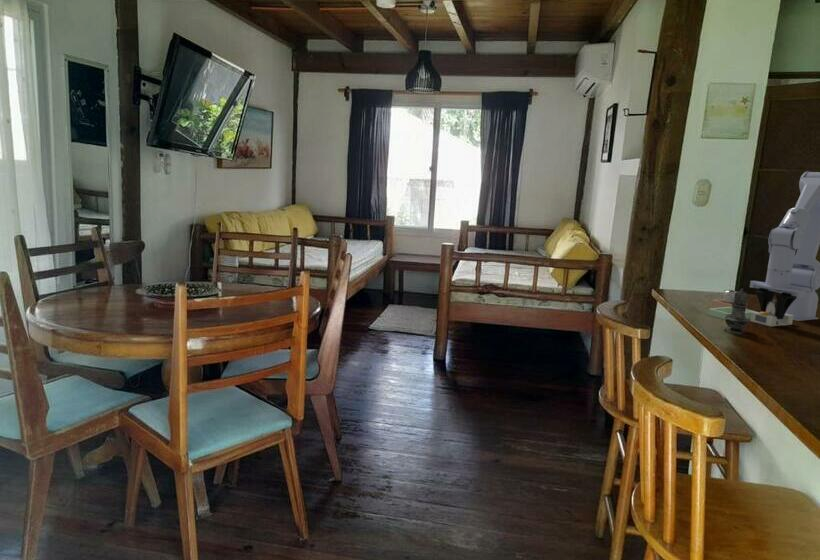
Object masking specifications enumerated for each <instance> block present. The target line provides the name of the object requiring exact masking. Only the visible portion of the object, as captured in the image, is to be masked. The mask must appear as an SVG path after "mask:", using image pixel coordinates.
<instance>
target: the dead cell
mask: <svg viewBox="0 0 820 560" xmlns="http://www.w3.org/2000/svg"><path fill="white" fill-rule="evenodd" d="M736 292H737V291H736V290H733V289H728V290H727V289H726V290H725V289H724V290H723V302H724V303H728V304H733V303H734V297H735V293H736Z"/></svg>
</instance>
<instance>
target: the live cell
mask: <svg viewBox="0 0 820 560" xmlns="http://www.w3.org/2000/svg"><path fill="white" fill-rule="evenodd" d="M776 310H777V299H772V300H767V304H766V310H765V312H768V315H771V316H775V317H776ZM778 323H779V319H776V324H778Z"/></svg>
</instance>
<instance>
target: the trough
mask: <svg viewBox="0 0 820 560" xmlns="http://www.w3.org/2000/svg"><path fill="white" fill-rule="evenodd" d="M751 312H757V311H756V310H751V309H748V308H746V310H745V317H746V318H747V319H749V320H750V318H751ZM731 313H732V307H722V308H711V307H710V308H709V307H708V308H707V311H706V315H707V316H710V317H714V318H717V319H720V320H724V321H726V319H725V317H726V316H729V315H731Z"/></svg>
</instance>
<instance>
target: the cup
mask: <svg viewBox="0 0 820 560" xmlns="http://www.w3.org/2000/svg"><path fill="white" fill-rule="evenodd" d="M746 305H747V307H748V303H746ZM722 307H733V305H732V304H728V303H724V302H723V299H711V304H710V308H722ZM747 307H746V309H748V308H747Z"/></svg>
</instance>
